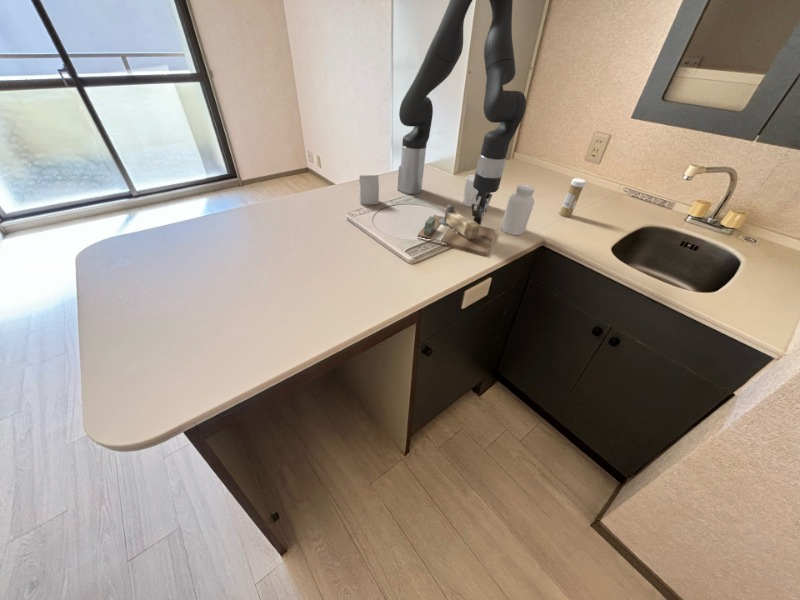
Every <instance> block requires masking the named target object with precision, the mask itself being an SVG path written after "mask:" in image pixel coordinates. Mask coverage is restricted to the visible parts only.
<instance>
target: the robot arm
mask: <svg viewBox="0 0 800 600" xmlns="http://www.w3.org/2000/svg"><path fill="white" fill-rule="evenodd" d="M513 1H514V0H489V3H490V9H491V15H492V16H491V23H490V27H489V28H488V29H489V30H488V32H487V35H486V39H485V41H484V48H483V55H484V56H483V60H484V67H485V75H486V76H485V77H486V80H485V81H486V82H485V83H486V84H485V92H484V100H483V107H482V108H483V114H484V116H485V119H486V120H487V121H488V122H489V123H494V124H495V123H499V124H498V126H497V128H495V129H493V130H491V131H489V132H487V133H486V134H484V138H483V140H482V141H483V142H482V146H481V150H480V155H479V158H478V161H477V163H476V169H475V173H474V175H475V178H474V182H473V187H474V188H475V189H476V190H477V191H478V193H477V194H476V196H475V204H472V207H470V208H471V214H472V215H471V216H472V217H473V220H472V221H475V222H477V223H478V224H480V226H482V220H483V218H484V215H485V213H486V212H487V210H488V207H489V205H490V203H491V199H492V198H493V193H497V191H498V190H499V188H500V184H501V181H502V177H503V173H504V170H505V165H506V158H507V154H508V151H509V147H510V143H511V142H512V139H513V138H514V136H515V133H516V132H517V129H518V128H519V126H520V124H521V123H522V120H523V118H524V116H525V113H526V109H527V99H526V96H525V94H524V93H523V92H522V91H519V90H504V86H506V85H507V84H509V83H510V82H512V80H513V79H514V78H515V76H516V60H515V53H514V46H513V29H512V28H513V24H512V23H513V4H514V3H513ZM472 2H473V0H449V2H448V5H447V7H446V10H445V12H444V14H443V16H442V19H441V22H440V24H439V26H438V29H437V31H436V33H435V35H434V36H433V38H432V41H431V43H430V45H429V47H428V49H427V51H426V54H425V57H424V59H423V61H422V64H421V66H420V68H419V70H418V72H417V73H416V76H415V78H414V79H413V81H412V84H411V85H410V87H409V88H408V90H407V91H406V92H405V93H406V94H405V95H404V96H403V99H402V101H401V103H400V106H399V110H398V111H399V113H398V115H399V120H400V123H401V124H402V125H403V126H404V127H413V128H412V130H411V131H410V132H408V133H406V134H405V135H404V136H403V137H402V141H401V142H402V145H401V159H400V165H399V166H398V176H397V189H396V190H397V191H400V192H401V193H404V194H406V195H407V194H409V195H417V194H421V192H422V188H423V181H424V180H423V178H424V169H425V164H426V163H425V160H426V153H427V152H426V151H427V143H428V141H429V139H430V135H431V134H430V133H431V127H432V122H433V115H434V113H433V112H434V106H433V102H432V100H431V99H430V97H429V96H428V95H429V94H430V93H431V92H432V91H433V90H435V89H436V88H438V87H439V86H440V85H441V84H442V83H443V82H444V81H445V80H446V79H447V78H448V77H449V76H450V75H451V74H452V72H453V70H454V68H455V66H456V64H457V63H458V61H459V59H460V57H461V55H462V52H463V48H464V47H463V46H464V25H465V24H464V23H465V18H466V15H467V14H468V10H469V8H470V5H472Z"/></svg>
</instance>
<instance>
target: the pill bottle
mask: <svg viewBox="0 0 800 600" xmlns="http://www.w3.org/2000/svg"><path fill="white" fill-rule="evenodd" d="M534 192H535V188H534V187H532V186H530V185H526V184H518V185H517V186H516V190H515V192H514V193H512V194H511V195H510V196H509V199H508V201H507V206H506V208H505V213H504V216H503V219H502V223H501V226H500V229H501V231H503V232H504V233H506V234H508V235H511V236H512V235H513V236H521V235H523V234H524V233H525V231H526V228H527V225H528V223H529V220H530V217H531V213H532V211H533V207H534V205H535V199H534V197H533V195H534Z"/></svg>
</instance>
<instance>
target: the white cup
mask: <svg viewBox="0 0 800 600" xmlns="http://www.w3.org/2000/svg"><path fill="white" fill-rule="evenodd" d="M474 178H475V174H469V175H467V176H466V177H465V183H464V190H463V198H462V199H463V200H462V205H464V206H466V207H469V208H471V207H472V204H475V196H476V194H477V193H478V191H477V190H476V189H475V188H474V187H473V182H474Z"/></svg>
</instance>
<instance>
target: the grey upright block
mask: <svg viewBox="0 0 800 600" xmlns="http://www.w3.org/2000/svg"><path fill="white" fill-rule="evenodd" d="M358 181H359V182H358V183H359V184H358V188H359V189H358V193H359V194H358V197H359V198H358V201H359V205H379V200H380V199H379V197H380V195H379V194H380V185H379V184H380V183H379V175H378V174H359V179H358Z"/></svg>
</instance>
